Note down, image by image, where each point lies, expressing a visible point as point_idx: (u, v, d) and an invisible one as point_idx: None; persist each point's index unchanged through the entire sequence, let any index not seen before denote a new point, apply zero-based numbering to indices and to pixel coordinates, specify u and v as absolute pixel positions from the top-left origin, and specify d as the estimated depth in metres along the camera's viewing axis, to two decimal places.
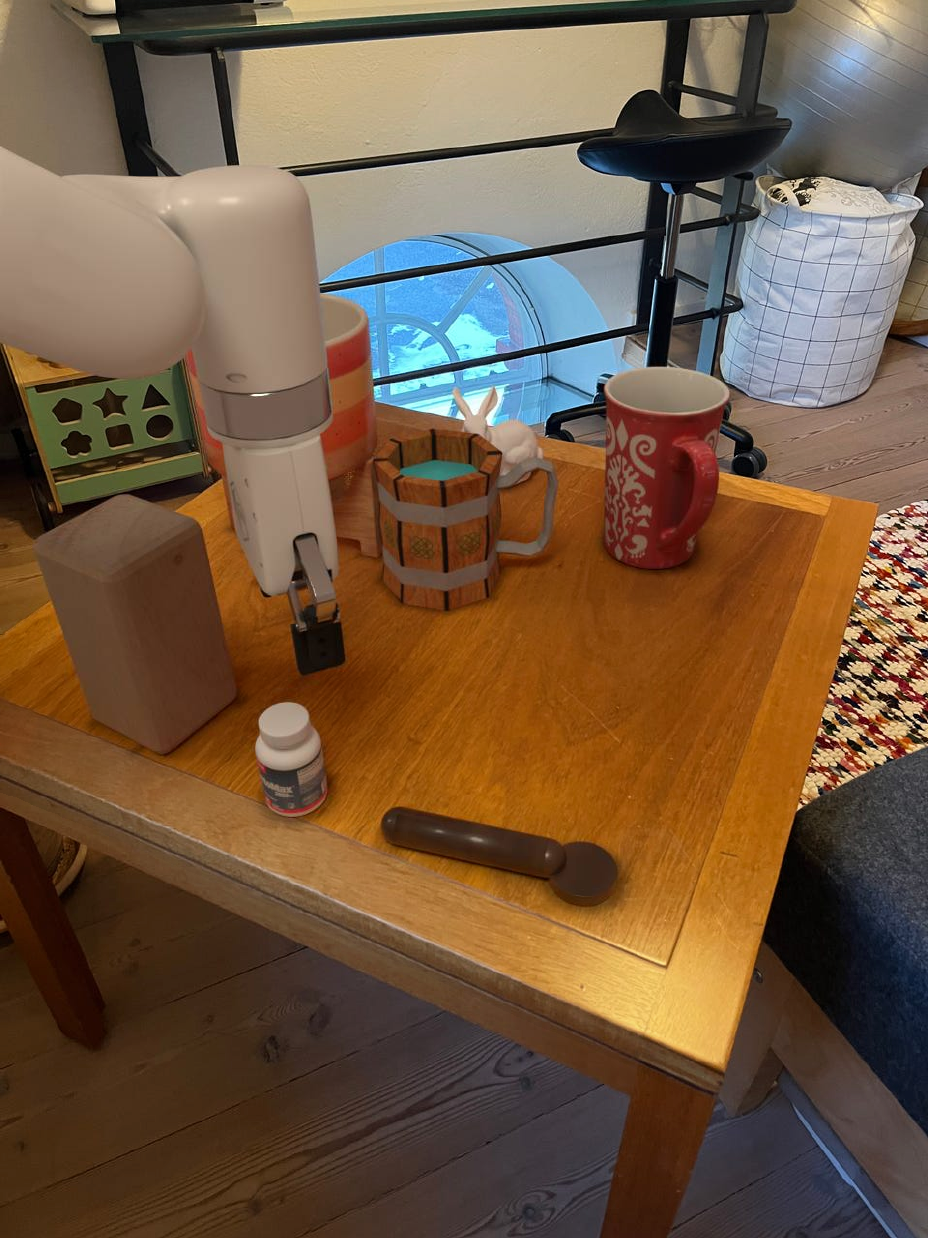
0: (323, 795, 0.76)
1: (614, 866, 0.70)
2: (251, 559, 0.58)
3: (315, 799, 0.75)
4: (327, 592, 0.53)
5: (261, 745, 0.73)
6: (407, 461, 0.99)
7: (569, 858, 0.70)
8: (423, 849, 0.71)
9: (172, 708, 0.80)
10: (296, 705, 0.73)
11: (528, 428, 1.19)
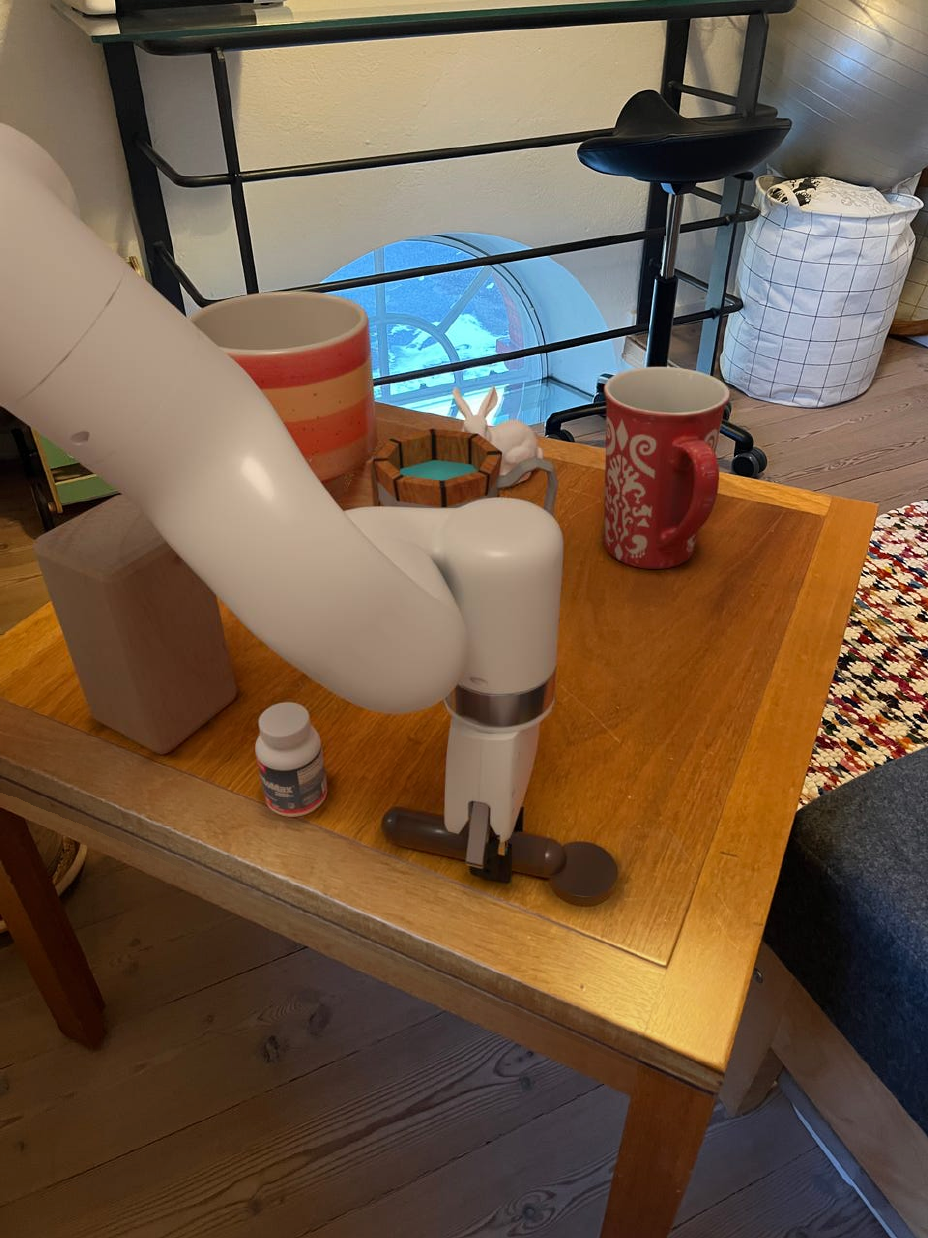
0: (323, 795, 0.76)
1: (614, 866, 0.70)
2: None
3: (315, 799, 0.75)
4: (476, 864, 0.62)
5: (261, 745, 0.73)
6: (407, 461, 0.99)
7: (569, 858, 0.70)
8: (423, 849, 0.71)
9: (172, 708, 0.80)
10: (296, 705, 0.73)
11: (528, 428, 1.19)
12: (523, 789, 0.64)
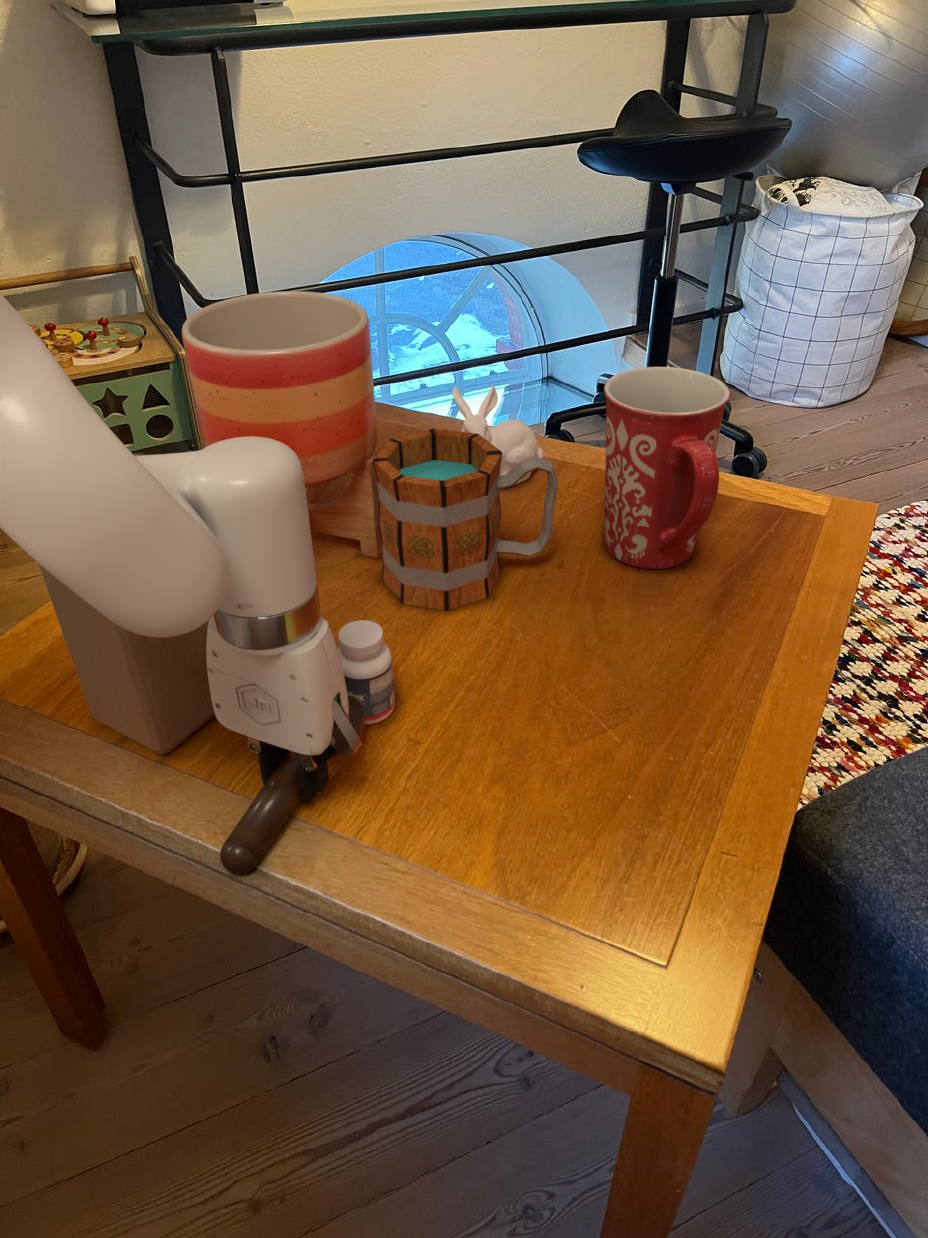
0: (391, 708, 0.85)
1: None
2: (280, 736, 0.69)
3: (383, 710, 0.84)
4: (358, 744, 0.71)
5: (339, 656, 0.82)
6: (407, 461, 0.99)
7: None
8: (274, 836, 0.72)
9: (172, 708, 0.80)
10: (372, 623, 0.82)
11: (528, 428, 1.19)
12: None
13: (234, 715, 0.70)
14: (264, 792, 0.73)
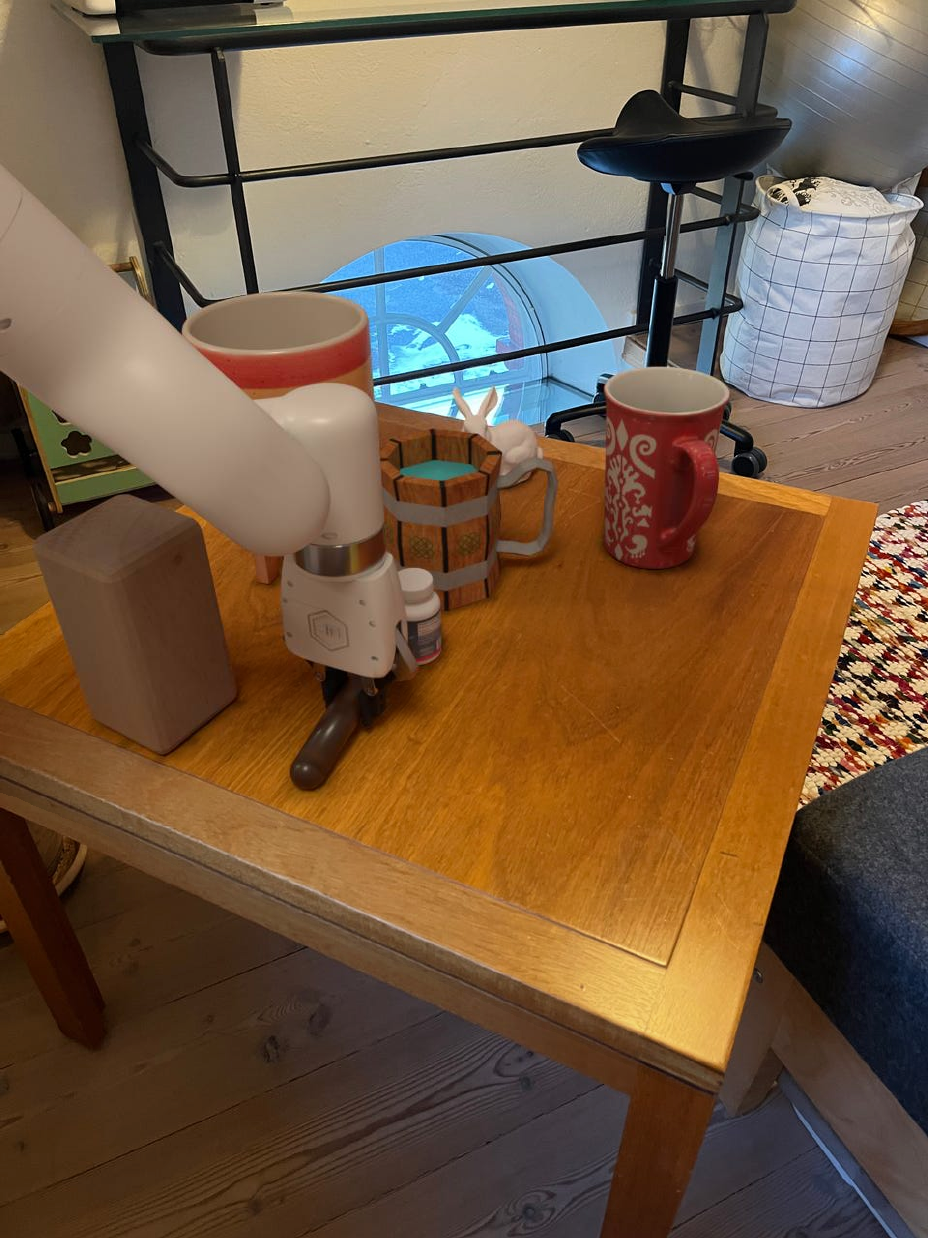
0: (437, 652, 0.91)
1: None
2: (347, 660, 0.76)
3: (429, 653, 0.90)
4: (416, 669, 0.78)
5: None
6: (407, 461, 0.99)
7: None
8: None
9: (172, 708, 0.80)
10: (424, 571, 0.89)
11: (528, 428, 1.19)
12: None
13: (304, 642, 0.77)
14: (326, 716, 0.80)
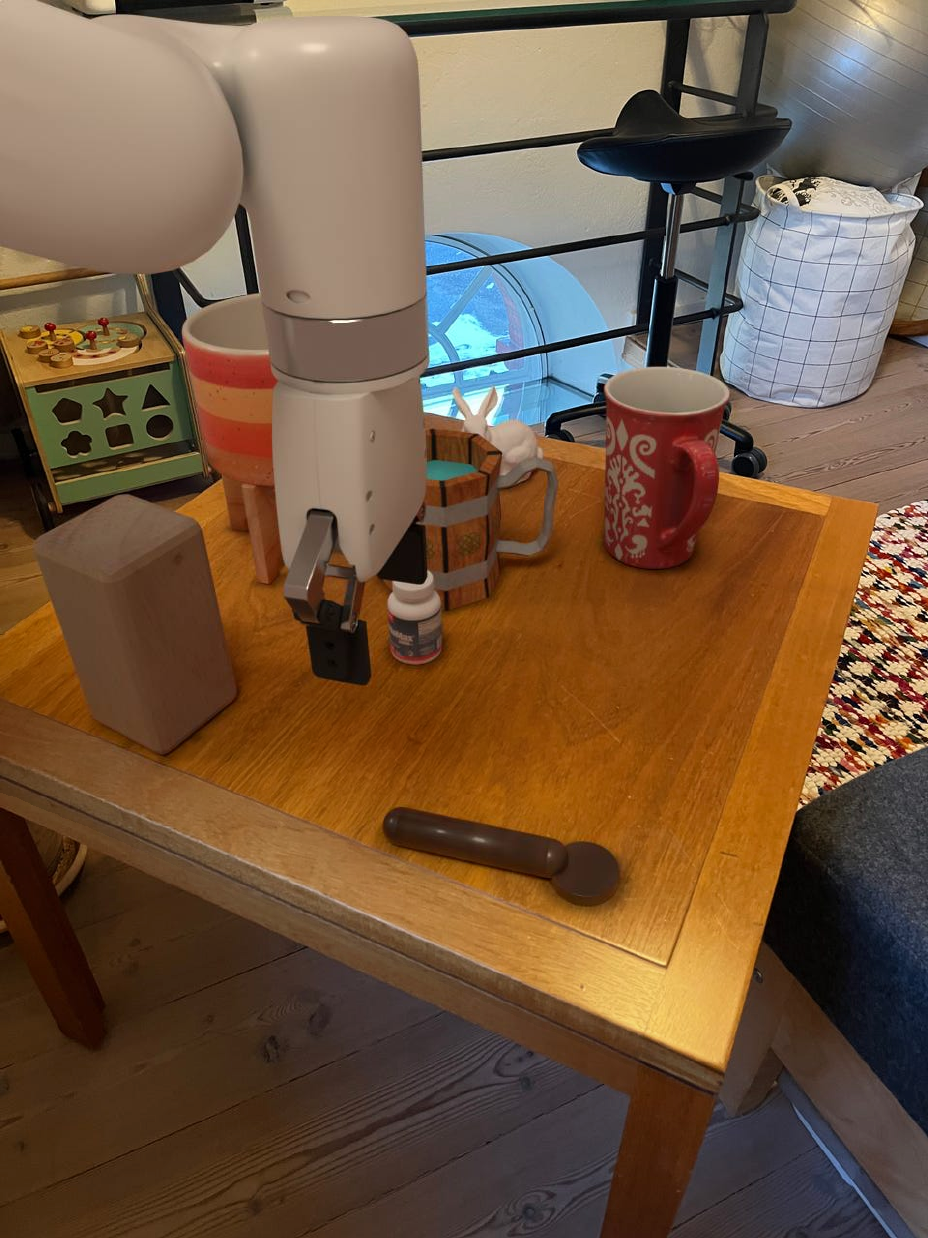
0: (437, 651, 0.92)
1: (616, 866, 0.70)
2: None
3: (430, 652, 0.91)
4: (298, 587, 0.41)
5: (392, 598, 0.89)
6: None
7: (571, 858, 0.70)
8: (425, 850, 0.71)
9: (172, 708, 0.80)
10: None
11: (528, 428, 1.19)
12: (391, 509, 0.45)
13: None
14: (461, 822, 0.71)
